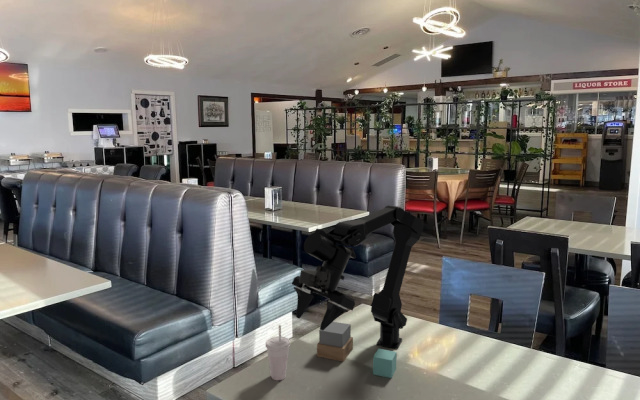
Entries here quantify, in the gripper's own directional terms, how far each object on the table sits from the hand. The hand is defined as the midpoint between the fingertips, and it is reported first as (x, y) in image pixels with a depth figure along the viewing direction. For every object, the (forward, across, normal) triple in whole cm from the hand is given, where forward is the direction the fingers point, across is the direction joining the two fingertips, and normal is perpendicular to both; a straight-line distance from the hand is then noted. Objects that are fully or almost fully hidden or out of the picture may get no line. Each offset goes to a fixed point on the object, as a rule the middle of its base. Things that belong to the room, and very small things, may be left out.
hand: (309, 323), depth 118 cm
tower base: (+5, -5, +20) cm, 22 cm away
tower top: (+2, -5, +18) cm, 19 cm away
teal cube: (+4, +12, +22) cm, 25 cm away
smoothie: (+16, -6, +3) cm, 17 cm away
